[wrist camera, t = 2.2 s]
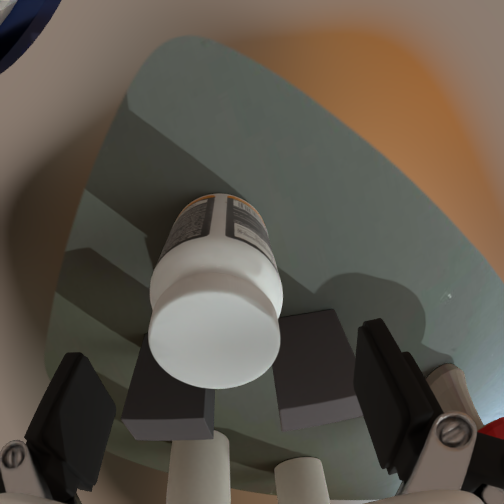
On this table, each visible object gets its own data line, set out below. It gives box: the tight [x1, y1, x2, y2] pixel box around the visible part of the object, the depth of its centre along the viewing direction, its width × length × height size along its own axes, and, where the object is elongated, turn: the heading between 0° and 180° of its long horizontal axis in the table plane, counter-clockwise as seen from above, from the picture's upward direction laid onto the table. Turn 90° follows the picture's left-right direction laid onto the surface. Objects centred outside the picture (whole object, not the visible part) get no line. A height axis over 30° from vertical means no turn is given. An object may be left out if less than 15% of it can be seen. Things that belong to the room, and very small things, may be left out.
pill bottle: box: [148, 193, 283, 389], centre depth 15 cm, size 6×6×10 cm
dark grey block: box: [121, 334, 215, 441], centre depth 20 cm, size 5×2×8 cm, turn 98°
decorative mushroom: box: [426, 364, 504, 439], centre depth 22 cm, size 10×9×15 cm
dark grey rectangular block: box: [272, 309, 363, 432], centre depth 20 cm, size 5×2×8 cm, turn 97°
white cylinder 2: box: [274, 457, 330, 504], centre depth 29 cm, size 6×6×10 cm
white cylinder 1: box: [166, 430, 231, 504], centre depth 25 cm, size 6×6×10 cm
